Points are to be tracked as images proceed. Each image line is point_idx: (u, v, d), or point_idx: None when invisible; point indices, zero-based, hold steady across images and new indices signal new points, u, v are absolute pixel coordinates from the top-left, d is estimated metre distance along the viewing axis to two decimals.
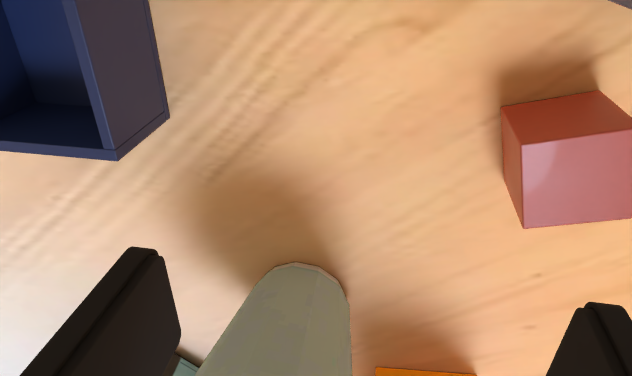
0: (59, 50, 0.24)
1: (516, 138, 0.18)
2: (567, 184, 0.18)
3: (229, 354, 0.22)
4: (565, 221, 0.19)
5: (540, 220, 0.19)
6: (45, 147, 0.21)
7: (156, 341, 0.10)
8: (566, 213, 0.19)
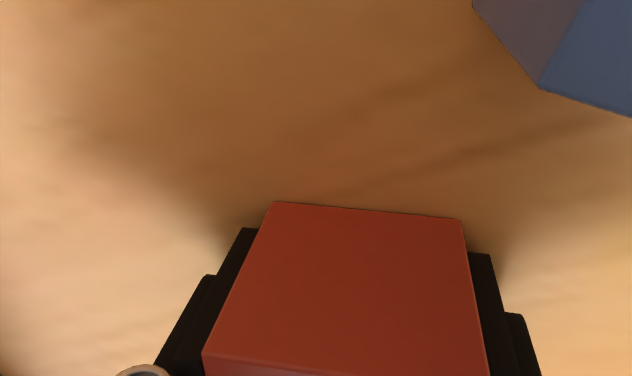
0: None
1: (218, 318, 0.07)
2: None
3: None
4: None
5: None
6: None
7: None
8: None
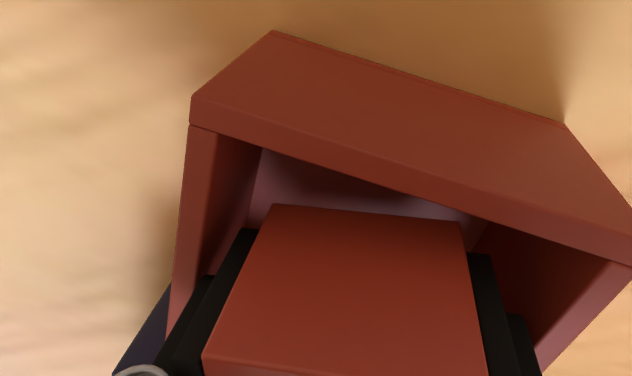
0: None
1: (218, 320, 0.07)
2: None
3: None
4: None
5: None
6: None
7: None
8: None
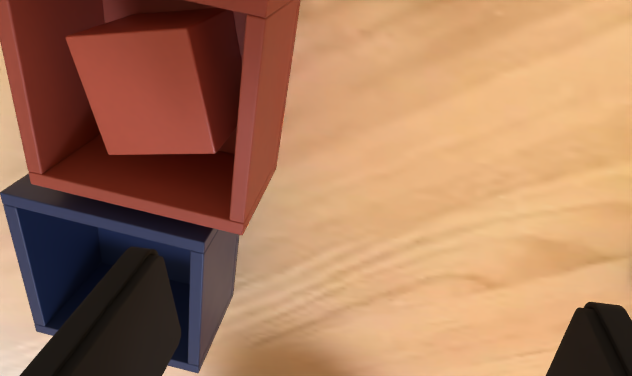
0: None
1: (79, 33, 0.15)
2: (133, 99, 0.15)
3: None
4: (148, 149, 0.16)
5: (121, 145, 0.16)
6: None
7: (156, 341, 0.10)
8: (145, 138, 0.16)
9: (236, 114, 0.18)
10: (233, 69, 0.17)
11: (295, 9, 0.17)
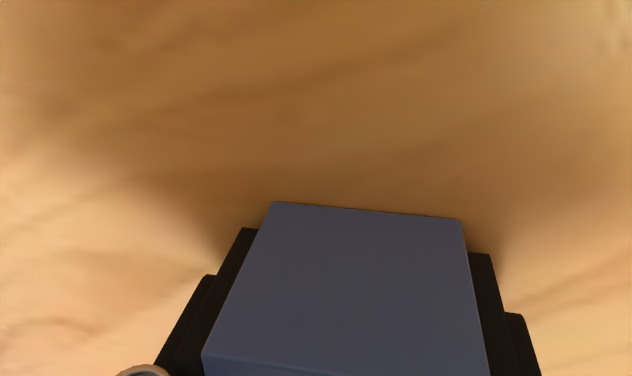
0: None
1: None
2: None
3: None
4: None
5: None
6: None
7: None
8: None
9: None
10: None
11: None
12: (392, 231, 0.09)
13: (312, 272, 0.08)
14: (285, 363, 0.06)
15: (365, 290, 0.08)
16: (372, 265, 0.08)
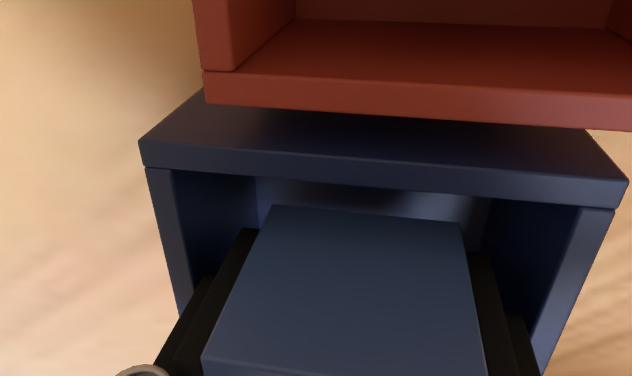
0: None
1: None
2: None
3: None
4: None
5: None
6: None
7: None
8: None
9: None
10: None
11: None
12: (391, 234, 0.09)
13: (311, 276, 0.08)
14: (284, 367, 0.07)
15: (365, 293, 0.08)
16: (371, 268, 0.08)
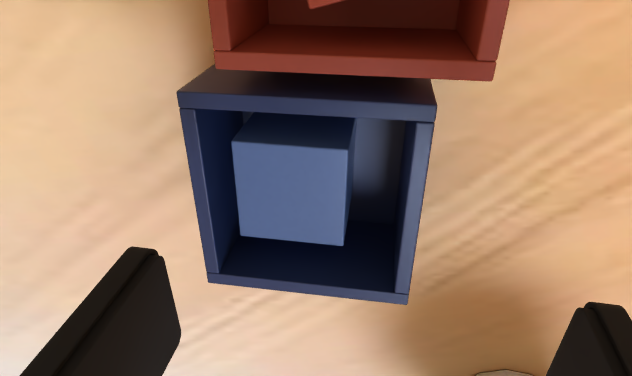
0: None
1: None
2: None
3: None
4: None
5: None
6: (320, 287, 0.18)
7: (156, 341, 0.10)
8: None
9: None
10: None
11: None
12: None
13: (279, 122, 0.18)
14: (266, 142, 0.16)
15: (303, 127, 0.17)
16: (308, 120, 0.18)
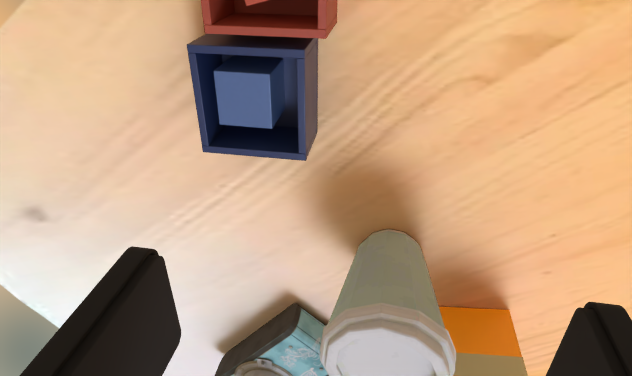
0: None
1: None
2: None
3: (367, 278, 0.36)
4: None
5: None
6: (261, 152, 0.35)
7: (156, 341, 0.10)
8: None
9: None
10: None
11: None
12: (263, 60, 0.35)
13: (239, 64, 0.34)
14: (230, 71, 0.32)
15: (251, 65, 0.34)
16: (254, 63, 0.34)
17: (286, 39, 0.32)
